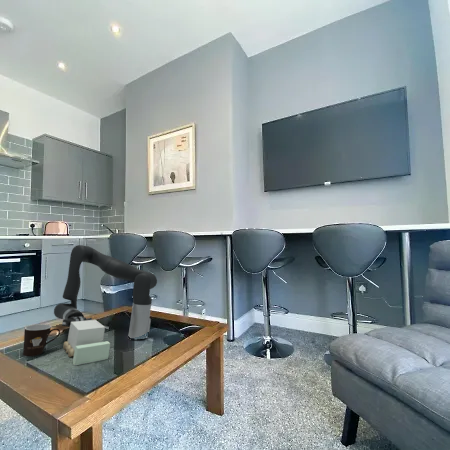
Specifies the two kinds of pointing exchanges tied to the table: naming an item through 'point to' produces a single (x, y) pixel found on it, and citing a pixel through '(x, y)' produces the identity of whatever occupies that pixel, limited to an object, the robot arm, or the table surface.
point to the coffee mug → (36, 339)
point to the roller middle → (68, 348)
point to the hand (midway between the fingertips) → (82, 326)
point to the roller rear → (65, 344)
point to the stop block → (91, 353)
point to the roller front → (71, 352)
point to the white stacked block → (85, 333)
